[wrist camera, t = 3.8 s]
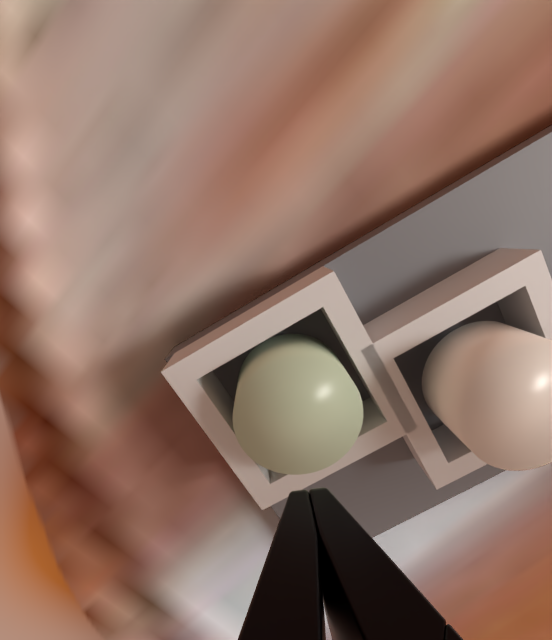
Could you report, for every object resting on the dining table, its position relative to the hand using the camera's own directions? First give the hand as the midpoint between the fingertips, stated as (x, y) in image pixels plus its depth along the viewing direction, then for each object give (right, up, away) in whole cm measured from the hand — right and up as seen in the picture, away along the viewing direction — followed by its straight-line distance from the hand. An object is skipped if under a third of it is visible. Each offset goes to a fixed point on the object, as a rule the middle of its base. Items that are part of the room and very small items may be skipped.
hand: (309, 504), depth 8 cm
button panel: (+7, +3, +8) cm, 11 cm away
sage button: (0, +2, +6) cm, 6 cm away
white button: (+7, +2, +5) cm, 9 cm away
